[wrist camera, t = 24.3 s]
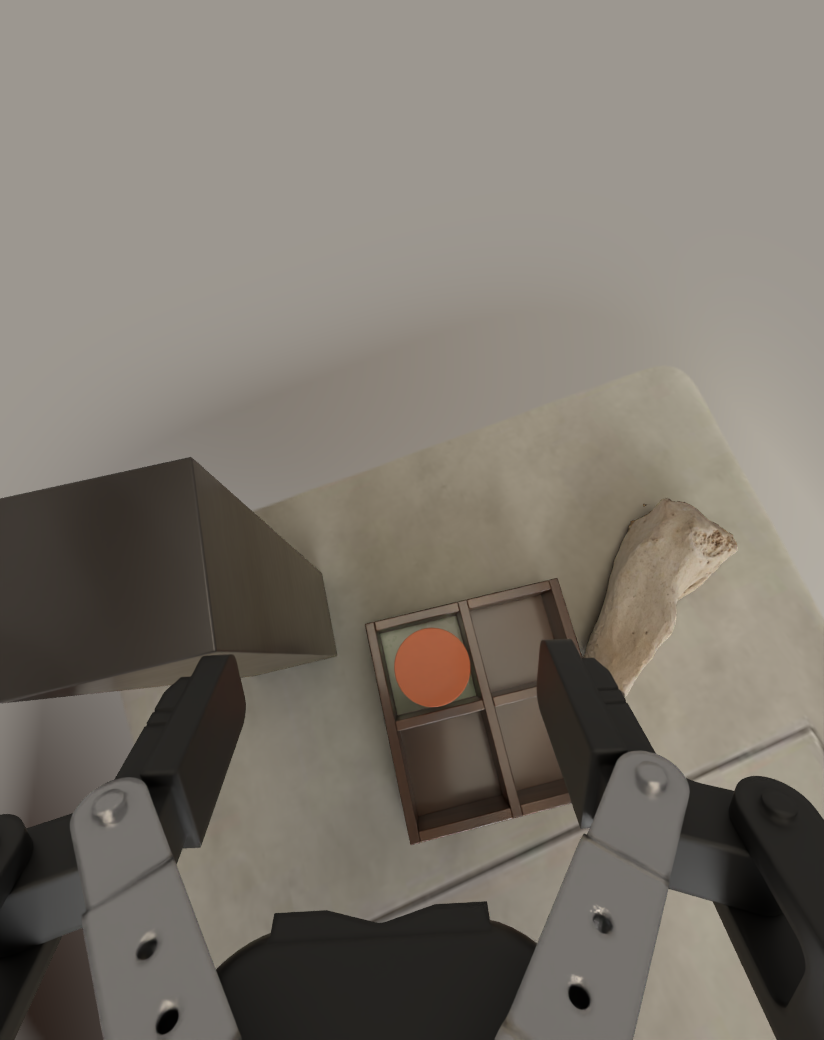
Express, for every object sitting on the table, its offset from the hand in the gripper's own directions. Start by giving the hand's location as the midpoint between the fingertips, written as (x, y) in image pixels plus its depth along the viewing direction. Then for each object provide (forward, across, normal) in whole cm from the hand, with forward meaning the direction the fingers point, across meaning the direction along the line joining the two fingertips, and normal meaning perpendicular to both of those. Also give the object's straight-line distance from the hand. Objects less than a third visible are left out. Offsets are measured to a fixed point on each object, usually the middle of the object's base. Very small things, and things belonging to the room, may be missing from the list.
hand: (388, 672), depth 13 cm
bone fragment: (+20, -17, +12) cm, 29 cm away
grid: (+16, -5, +16) cm, 23 cm away
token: (+17, -2, +14) cm, 22 cm away
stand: (+19, +8, +12) cm, 24 cm away
